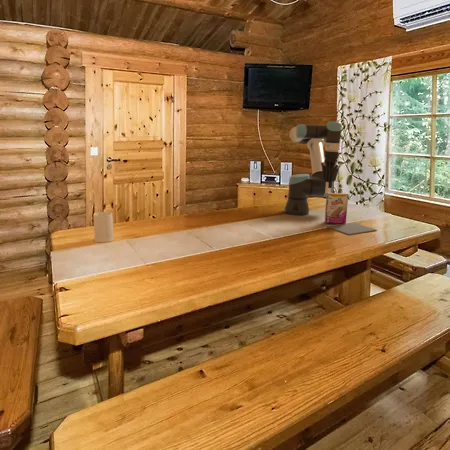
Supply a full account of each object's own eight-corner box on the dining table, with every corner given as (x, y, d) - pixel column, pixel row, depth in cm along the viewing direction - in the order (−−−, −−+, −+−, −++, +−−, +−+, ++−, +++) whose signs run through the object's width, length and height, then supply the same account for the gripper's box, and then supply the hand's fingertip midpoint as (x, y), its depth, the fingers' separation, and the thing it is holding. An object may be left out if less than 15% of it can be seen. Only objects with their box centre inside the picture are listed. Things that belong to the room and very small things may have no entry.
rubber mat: (326, 227, 210) (326, 226, 210) (353, 223, 220) (353, 222, 220) (348, 235, 197) (348, 233, 197) (376, 230, 206) (376, 229, 206)
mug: (92, 236, 183) (91, 210, 180) (111, 234, 186) (110, 209, 183) (95, 243, 172) (93, 216, 169) (115, 241, 176) (114, 215, 173)
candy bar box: (325, 223, 216) (327, 193, 214) (324, 221, 221) (326, 192, 219) (346, 223, 215) (348, 193, 213) (344, 222, 220) (346, 193, 218)
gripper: (318, 150, 219) (314, 191, 225) (335, 151, 208) (330, 196, 214) (328, 149, 222) (324, 191, 228) (345, 151, 211) (341, 195, 217)
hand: (327, 193), depth 221 cm, fingers closed
